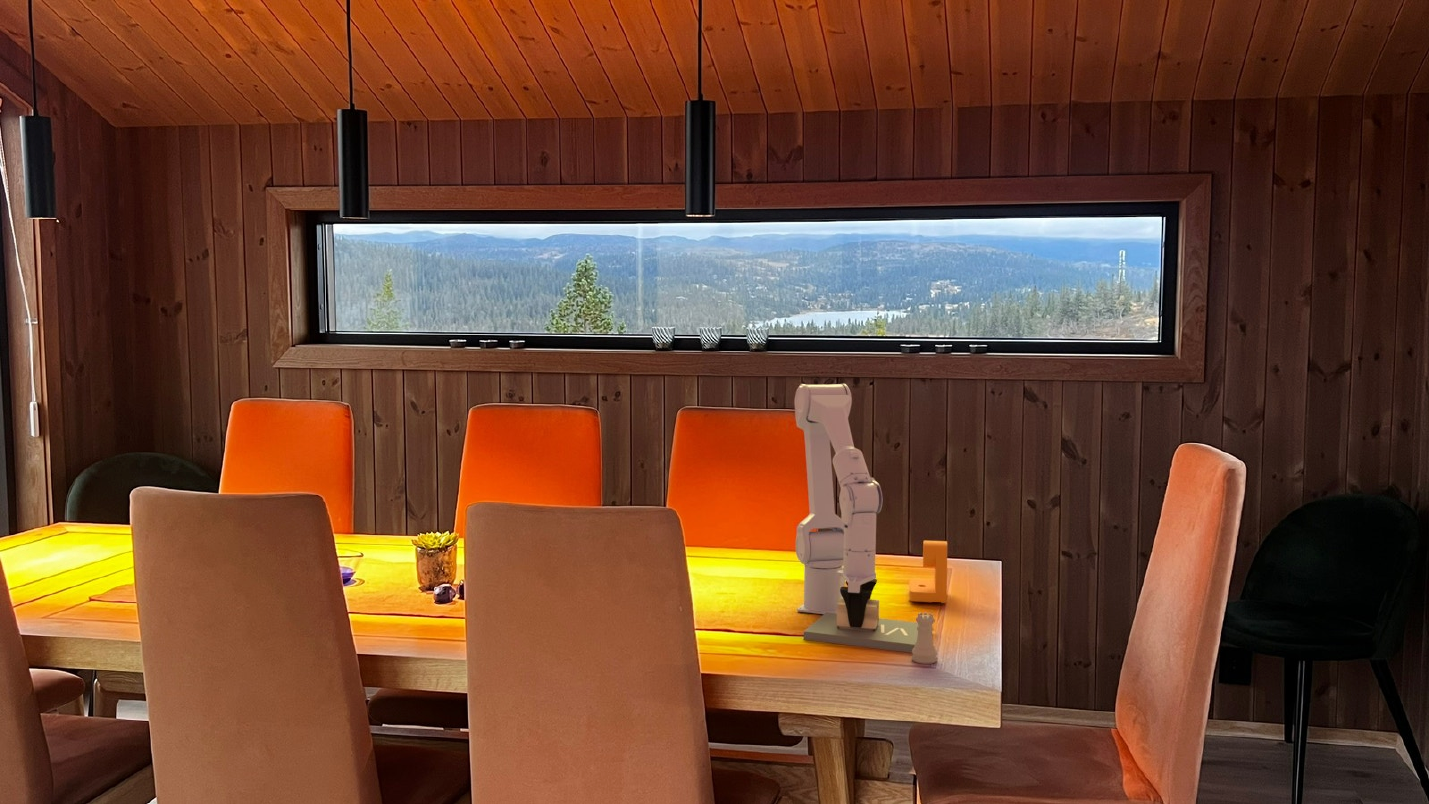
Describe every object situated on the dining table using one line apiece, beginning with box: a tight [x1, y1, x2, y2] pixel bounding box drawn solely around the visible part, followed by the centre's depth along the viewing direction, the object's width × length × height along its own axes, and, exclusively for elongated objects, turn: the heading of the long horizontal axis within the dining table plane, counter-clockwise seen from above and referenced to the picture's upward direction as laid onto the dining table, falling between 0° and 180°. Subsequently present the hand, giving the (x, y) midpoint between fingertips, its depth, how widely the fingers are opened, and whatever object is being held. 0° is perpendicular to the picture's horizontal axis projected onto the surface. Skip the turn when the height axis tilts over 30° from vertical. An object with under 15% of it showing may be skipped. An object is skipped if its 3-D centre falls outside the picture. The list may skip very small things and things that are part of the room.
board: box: [803, 612, 918, 654], centre depth 220 cm, size 14×20×2 cm
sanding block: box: [837, 597, 880, 631], centre depth 220 cm, size 5×7×4 cm
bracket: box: [908, 540, 948, 604], centre depth 246 cm, size 11×7×12 cm, turn 171°
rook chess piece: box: [910, 611, 939, 665], centre depth 205 cm, size 4×4×8 cm
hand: (858, 622), depth 220 cm, fingers closed on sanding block, 5 cm apart
